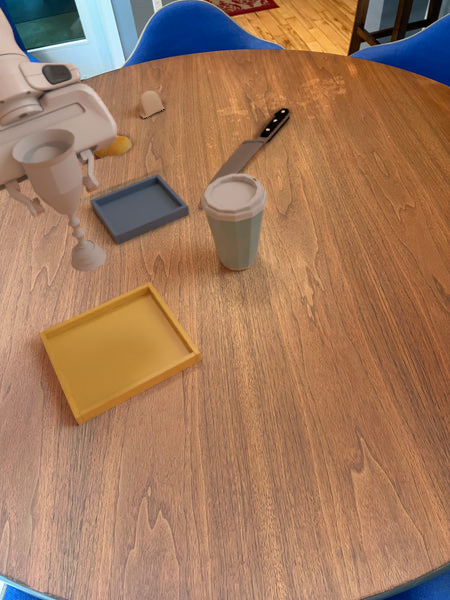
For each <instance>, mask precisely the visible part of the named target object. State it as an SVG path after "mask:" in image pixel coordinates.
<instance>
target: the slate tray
mask: <svg viewBox="0 0 450 600" xmlns="http://www.w3.org/2000/svg"><path fill="white" fill-rule="evenodd" d="M89 201H90V205H91V208H92V209H93V211H94V212H95V214H96V215H97V217H98V218H99V220H100V221H101V223H102V224H103V225H104V227H105V228H106V230H107V231H108V233H109V234H110V236H111V237H112V238H113V240H114V242H115V243H116V244H117V245H120V244H122V243H124V242H126V241H127V242H128V241H129V240H131V239H134V238H136V237H138V236H141V235H143V234H145V233H148V232H150V231H153V230H155V229H158V228H160V227H162V226H164V225H167V224H169V223H171V222H174V221H177V220H178V219H180V218H184V217H186V216H188V215H190V210H189V205H188V204H187V203H186V202H185V201H184V200H183V199H182V197H180V195H179V194H178V193H177V192H176V191H175V190H174V189H173V188H172V186H170V185H169V184H168V183H167V182H166V180H164V178H163V177H162V176H161V175H160V174H159V173H156V174H154V175H152V176H149V177H147V178H143V179H142V180H139V181H137V182H133V183H131V184H129V185H126V186H124V187H120V188H118V189H115V190H113V191H110V192H108V193H105V194H102V195H100V196H97V197H95V198H93V199H90V200H89Z"/></svg>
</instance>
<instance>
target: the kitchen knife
mask: <svg viewBox="0 0 450 600" xmlns="http://www.w3.org/2000/svg"><path fill="white" fill-rule="evenodd" d="M290 113H291V112H290V109H288V108H287V107H283V108H281V109H279V110H278V111H275V112H274V113H273V118H272V119H271V120H270V121H269V122H268V123H267V125H266V126H265V127H264V129H263V130H262V132H261V133H260V135H259V136H258V137H257V138H253V139H244V140H243V141H242V143H241V144H240V146H238V148H237V149H236V150H235V151H234V152H233V154H231V155H230V157H229V158H228V159H227V160H226V161H225V163H224V164H223V165H222V166H221V167H220V169H219V170H218V171H217V173H216V174H215V175H214V176H213V178H212V179H211V181H210V182H209V184H208V185H210V184H211V183H212V182H214V181H215V180H216V179H218V178H220V177H223V176H226V175H229V174H239V173H240V172H241V170H242V169H243V168H244V167H245V166H246V165H247V163H249V161H250V160H251V159H252V158H253V157H254V155H256V153H257V152H258V151H259V150H260V149H261V148H262V147H263V146H264V145H266V143H267V142H271V141H272V139H273V138H274V137H275V136H276V135H277V133H278V132H279V131H280V130H281V129H282V128H283V127H284V126H285V125H286V123H287V122H288V121H289V120H290V118H291V114H290ZM201 209H203V207H202V205H201V202H200V204H199V210H201Z"/></svg>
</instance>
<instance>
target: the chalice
mask: <svg viewBox="0 0 450 600" xmlns="http://www.w3.org/2000/svg"><path fill="white" fill-rule="evenodd" d="M74 140H75V137H74V135H73V133H71V132H70V131H68V130H64V129H48V130H43V131H39V132H36V133H33V134H31V135H29V136H27V137H25V138H24V139H22V140H21V141H20V142H18V143H17V145H16V146H15V147H14V148H13V152H12V154H13V157H14V159H16V160H17V161H18V162H20V163H21V164H22V165H23V167H24V169H25V172H26V174H27V176H28V178H29V179H28V181H29V183H30V185H31V187H32V189H33V192H34V193H35V194H36V195H37V197H38V198H39V199H41V200H42V201H43V202H44V203H45V204H46V205H48V206H49V207H51V209H53V210H54V211H56V212H57V213H58V214H59V215H66V216H67V217H68V223H67V224H68V226H69V227H71V228H72V233H71V236H72V237H73V238H75V239H76V240H77V243H75V244H74V246H73V248H72V250H71V259H70V265H71V267H72V268H73V269H74V270H75V271H78V272H83V273H85V272H91V271H94V270H96V269H98V268H100V267H101V266H103V264H104V263H105V262H106V260H107V252H106V250H105V249H103V248H102V247H101V246H100V245H99V244H98V243H97V242H95V241H93V240H90V239H85V234H86V230H85V229H84V228H82V227H81V226H80V223H81V218H79V217H78V216H77V215H76V213H75V212H76V211H77V210H78V209H79V208H80V205H81V199H82V195H83V184H82V181H83V177H84V176H83V175H84V174H83V171H82V168H81V166H80V161H79V159H77V156H76V153H75V150H74ZM46 146H48V147H56V148H58V149H60V150H62V151H64V152H65V153H63V154H62V155H60V156H58V157H56V158H53V159H51V160H48V161H44V162H39V163H29V162H30V159H31V157H32V155H33V153H34V152H36V151H37V150H38V149H39V148H43V147H46Z"/></svg>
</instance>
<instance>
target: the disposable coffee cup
mask: <svg viewBox="0 0 450 600" xmlns="http://www.w3.org/2000/svg"><path fill="white" fill-rule="evenodd" d="M209 184H210V183H209ZM209 184H208V185H207V187H206V188H205V189H204V191H203V194H202V196H201V198H200V203H201V205H202V209H203V212H204V214H205V217H206V220H207V223H208V226H209V229H210V232H211V235H212V239H213V242H214V246H215V248H216V252H217V254H218V257H219V260H220V262H221V264H222V265H223V266H224V267H225V268H227V270H230V271H237V272H239V271H243V270H247V269H249V268H250V267H252V266H253V265H254V264H255V262H256V260H257V257H258V254H259V253H258V252H259V246H260V245H259V244H260V238H261V233H262V225H263V219H264V212H265V209H266V204H267V201H268V195H267V192H266V190H265V189H264V185H263V184H262V182H261V181H260V179H258V178H257V177H256V176H254V175H251V174H248V173H238V174H229V175H226V176H223V177H220V178H218V179H216V180H215V181H214V182H212V183H211V184H210V185H209Z"/></svg>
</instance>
